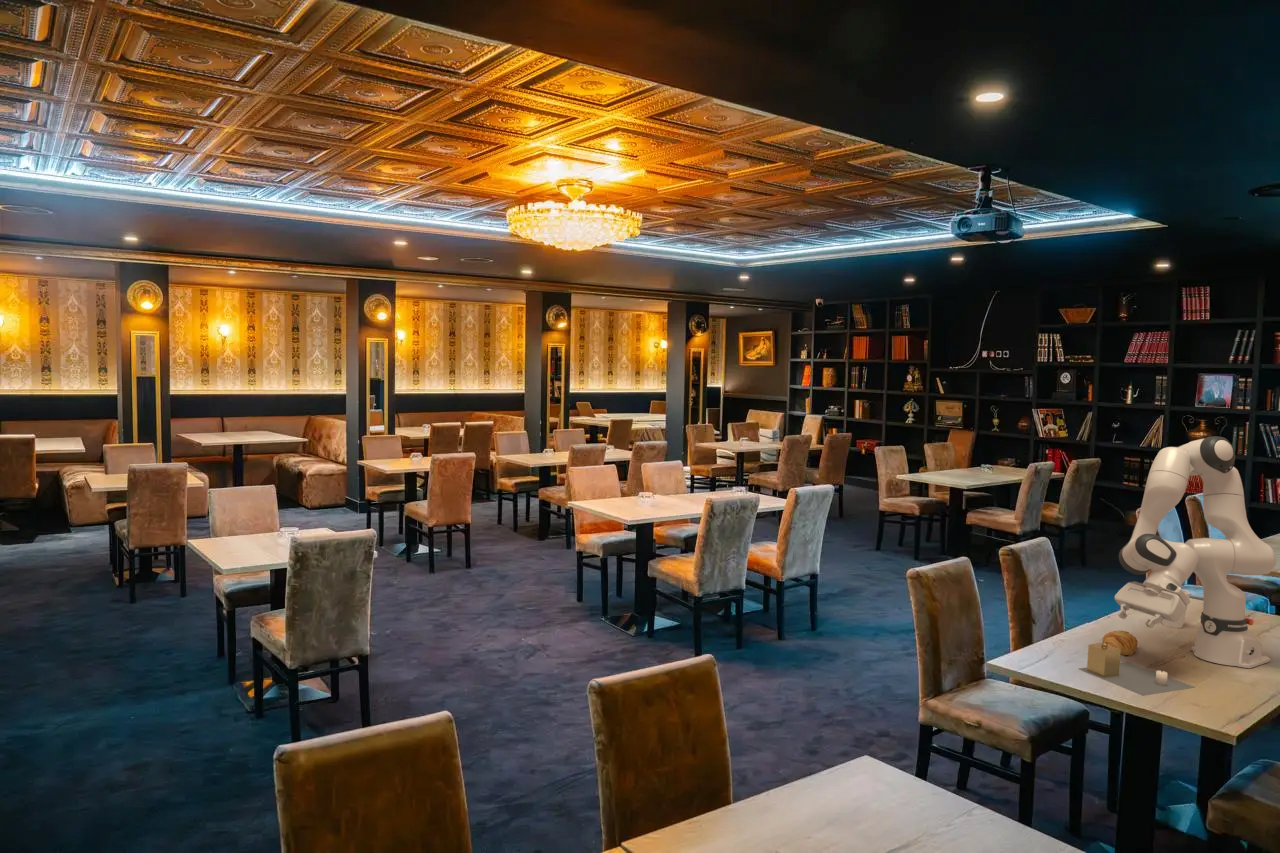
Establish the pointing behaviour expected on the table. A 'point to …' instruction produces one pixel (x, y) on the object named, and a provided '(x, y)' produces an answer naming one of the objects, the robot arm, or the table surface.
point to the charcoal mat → (1141, 680)
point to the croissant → (1121, 641)
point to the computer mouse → (1161, 678)
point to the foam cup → (1179, 622)
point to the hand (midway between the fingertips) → (1134, 621)
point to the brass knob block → (1103, 659)
